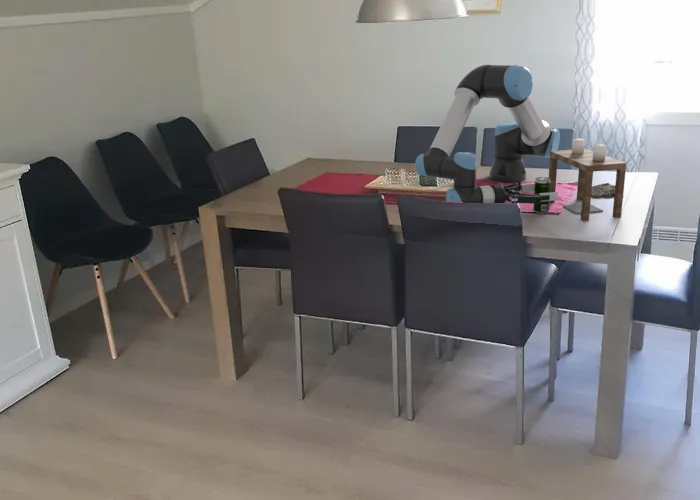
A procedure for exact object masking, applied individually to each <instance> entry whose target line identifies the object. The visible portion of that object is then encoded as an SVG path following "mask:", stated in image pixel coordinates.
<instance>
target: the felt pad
mask: <svg viewBox="0 0 700 500" xmlns="http://www.w3.org/2000/svg"><path fill="white" fill-rule="evenodd" d="M562 208H564V209H566V210H568V211H570V212H571V213H573V214H575V215H581V208H582V203H576V204H563V205H562ZM603 212H604V209H601V208H599V207H597V206H595V205H593V204H591V203H590V214H595V213H603Z"/></svg>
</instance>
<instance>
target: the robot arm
mask: <svg viewBox="0 0 700 500" xmlns="http://www.w3.org/2000/svg"><path fill="white" fill-rule="evenodd" d="M533 86H534V84H533V77H532V73H531V71H530V70H529V68H527V67H525V66H523V65H517V64H514V65H508V64H506V65H505V64H504V65H502V64H500V65H498V64H497V65H496V64H483V65H479V66H477V67H475V68H473V69H472V70H471V71H469V72H468V73H467V74H466V75H465V76H464V77H463V78H462V79H461V81H460V82H459V83H458V85H457V87H456V88H455V90H454V92H453V93H454V99H453V101H452V102H451V104H450V107H449V109H448V110H447V113H446V115H445V116H444V119H443V121H442V123H441V125H440V127H439V129H438V130H437V133H436V135H435V136H434V138H433V139H434V140H433V141H432V143H431V145H430V147H429V149H428V151H427V153H421V154H419V155H418V156H417V157H416V159H415V163H414V169H415V171H416V173H417V174H418V175H420V176H424V177H428V178H430V177H431V178H440V179H445V180H453V188H450V189H449V188H448V190H446V195H445V201H446V203H447V202H463V203H504V204H505V202H506V201H507V202H510V203H511V204H533V205H534V204H541V202H542V201H553V200H555V201H558V192H557V191H555V192H550V193H539V194H534V193H529V192H534V188H535V182H532V183H531V182H530V183H522V181H525V180H526V179H527V171H526V168H525V163H524V160H523V159H524V158H523V156H531V157H539V158H544V159H546V158H548V159H550V151H559V150H558V149H559V146H560V141H561V133H560V129H557V128H555V127H554V128H552V127H551V126H550V124H549V123H548V122H547V121H545V120H542V117H541V116H540V114H539V112H538V110H537V109H536V107H535V104H534V103H533V100H532V98H531V97H530V96H531V93H532V90H533ZM485 98H486V99H497V100H498V101H499V103H500V104H501V106H503V107H504V108H507V109H508V110H509V112H510V113H511V115H512V116H513V119H514V120H515V121H511V122H504V123H500V124H497V126H496V127H495V131H494V154H493V155H494V156H493V157H494V158H493V163H492V165H491V167H490V170H489V177H488V178H489V179H490V180H492V181H496V182H503V183H510V182H511V183H510V184H505V185H501V184H494V185H481V186H477V167H478V166H477V155H476V154H475V153H473V152H469V151H461V152H455V154H454V155H453V157H451V154H452V152H453V150H454V148H455V146H456V144H457V141H458V139H459V137H460V136H461V134H462V131H463V130H464V128H465V125H466V124H467V121H468V119H469V117H470V115H471V113H472V111H473V109H474V107H475V106H478V104H479V103H480V101H481V99H482V100H483V99H485ZM527 192H528V193H527Z"/></svg>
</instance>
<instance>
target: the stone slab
mask: <svg viewBox="0 0 700 500" xmlns="http://www.w3.org/2000/svg"><path fill="white" fill-rule="evenodd" d="M614 194H615V185H614V184H610V183H609V182H607V183H601V184H597V185H592V191H591V199H611V198H614Z"/></svg>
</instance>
